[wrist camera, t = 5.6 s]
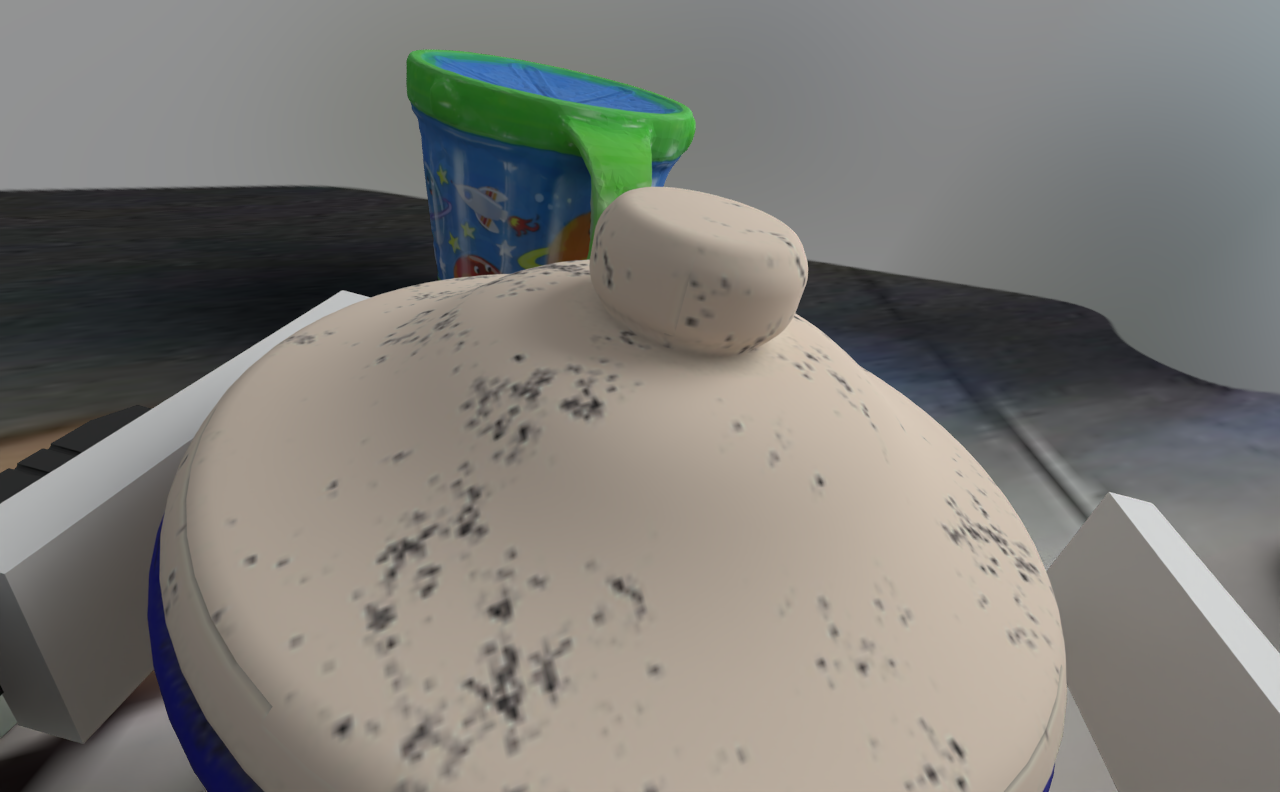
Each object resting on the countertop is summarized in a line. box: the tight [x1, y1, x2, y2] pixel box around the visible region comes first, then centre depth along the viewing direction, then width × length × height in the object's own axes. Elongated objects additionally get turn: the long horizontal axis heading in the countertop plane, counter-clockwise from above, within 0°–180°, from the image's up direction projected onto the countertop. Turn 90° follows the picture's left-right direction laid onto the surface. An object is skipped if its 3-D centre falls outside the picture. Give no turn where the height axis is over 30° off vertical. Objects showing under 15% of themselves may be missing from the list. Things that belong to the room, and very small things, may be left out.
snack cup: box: [407, 50, 695, 281], centre depth 26 cm, size 16×10×10 cm
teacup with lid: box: [147, 187, 1067, 792], centre depth 9 cm, size 12×9×12 cm
